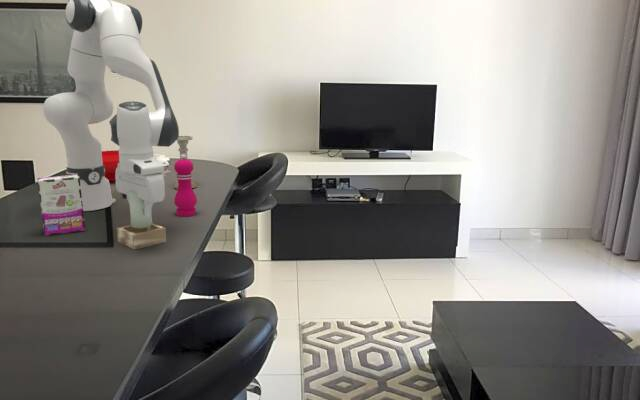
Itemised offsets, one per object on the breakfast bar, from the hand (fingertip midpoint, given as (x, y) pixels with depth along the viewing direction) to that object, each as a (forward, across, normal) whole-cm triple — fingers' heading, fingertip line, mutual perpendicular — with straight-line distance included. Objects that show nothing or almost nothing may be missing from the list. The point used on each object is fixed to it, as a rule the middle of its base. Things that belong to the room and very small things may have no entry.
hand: (140, 212), depth 152 cm
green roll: (+4, 0, 0) cm, 4 cm away
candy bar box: (+8, -25, -11) cm, 29 cm away
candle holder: (+9, -50, +47) cm, 69 cm away
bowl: (+8, -88, +35) cm, 95 cm away
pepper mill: (+9, -16, +25) cm, 31 cm away
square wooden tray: (+8, 0, 0) cm, 8 cm away
